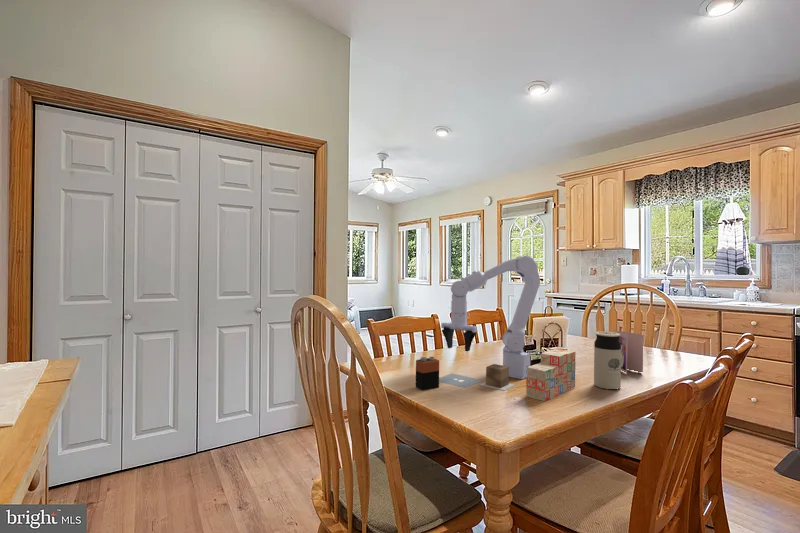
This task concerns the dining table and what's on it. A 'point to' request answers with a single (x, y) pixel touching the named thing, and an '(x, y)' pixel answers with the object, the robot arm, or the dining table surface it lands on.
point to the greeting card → (631, 351)
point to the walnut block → (497, 375)
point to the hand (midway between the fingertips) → (458, 349)
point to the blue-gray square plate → (459, 380)
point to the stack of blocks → (551, 375)
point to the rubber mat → (499, 388)
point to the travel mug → (607, 360)
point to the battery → (427, 373)
